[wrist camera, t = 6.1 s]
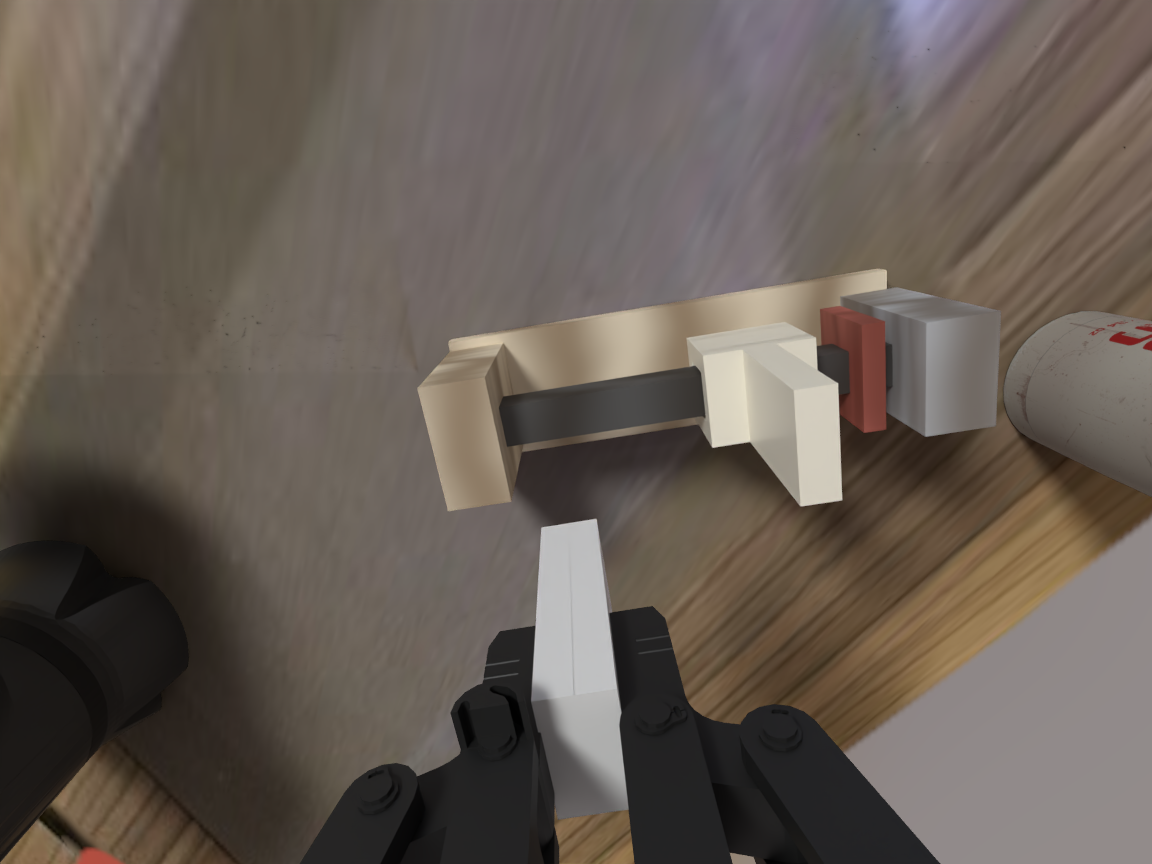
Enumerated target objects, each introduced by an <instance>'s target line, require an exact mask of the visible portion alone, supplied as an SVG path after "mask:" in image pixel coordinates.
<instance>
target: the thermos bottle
mask: <svg viewBox="0 0 1152 864" xmlns="http://www.w3.org/2000/svg"><path fill="white" fill-rule="evenodd" d="M1004 404H1005V408H1006V412H1007V414H1008V416H1009V418H1010V420H1011V422H1012V423H1013V425H1014V426H1015V427H1016V428H1017V429H1018V430H1019V431H1020V432H1021V433H1022V434H1024V435H1025V436H1027V437H1028V438H1030V439H1032V440H1034V441H1036V442H1038V443H1040V444H1042V445H1044V446H1046V447H1048V448H1050V449H1052V450H1054V451H1056V452H1058V453H1060V454H1062V455H1064V456H1066V457H1068V458H1070V459H1073V460H1075V461H1077V462H1079V463H1081V464H1083V465H1085V466H1087V467H1089V468H1091V469H1093V470H1095V471H1097V472H1099V473H1101V474H1103V475H1105V476H1107V477H1110V478H1112V479H1114V480H1116V481H1118V482H1120V483H1123V484H1125V485H1127V486H1129V487H1132V488H1134V489H1136V490H1138V491H1140V492H1142V493H1144V494H1146V495H1148V496H1150V497H1152V321H1148V320H1142V319H1137V318H1132V317H1126V316H1121V315H1115V314H1110V313H1104V312H1098V311H1085V312H1078V313H1073V314H1069V315H1065V316H1063V317H1061V318H1058V319H1056V320H1053V321H1051V322H1050V323H1048V324H1047V325H1045V326H1043V327H1042V328H1040V329H1039V330H1038V331H1036V332H1035V333H1034V334H1033V335H1032V336H1031V337H1029V338H1028V339H1027V341H1026V342H1025V343H1024V344H1023V345H1022V346H1021V348H1020V349H1019V350H1018V352H1017V353H1016V355H1015V357H1014V358H1013V360H1012V362H1011V364H1010V366H1009V369H1008V371H1007V374H1006V378H1005V383H1004Z"/></svg>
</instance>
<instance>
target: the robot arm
mask: <svg viewBox="0 0 1152 864" xmlns="http://www.w3.org/2000/svg"><path fill="white" fill-rule="evenodd" d="M188 658H189V655H188V643H187V638H186V634H185V631H184V628H183V625H182V623H181V621H180V619H179V616H178V615H177V613H176V611H175V609H174V608H173V606H172V605H171V603H170V602H169V600H168V599H167V598H166V596H165V595H164V594H163V593H162V592H161V591H160V589H159V588H158V587H157V586H156V585H155V584H154V583H153V582H151V581H149V580H146V579H141V578H133V577H125V578H116V577H113V576H111V575H109V574H108V573H107V572H106V570H105V568H104V566H103V565H102V563H101V562H100V560H99V559H98V558H97V556H96V555H95V554H94V553H93V552H92V551H91V550H90V549H89V548H88V547H87V546H85V545H81V544H76V543H70V542H63V541H34V542H27V543H22V544H18V545H15V546H12V547H9V548H6V549H4V550H2V551H0V862H1V861H2V860H3V859H4V857H5V856H6V855H7V854H8V853H9V852H10V850H11V849H12V848H13V847H14V846H15V845H16V843H17V842H18V841H19V840H20V839H21V838H22V837H23V835H24V834H25V833H26V832H27V831H28V830H29V828H30V827H31V826H32V825H33V824H34V823H35V821H36V820H37V819H38V818H39V817H40V816H41V814H42V813H43V812H44V811H45V810H46V809H47V808H48V806H49V805H50V804H51V803H52V802H53V801H54V799H55V798H56V797H57V796H58V795H59V794H60V792H61V791H62V790H63V789H64V788H65V787H66V785H67V784H68V783H69V782H70V781H71V780H72V779H73V777H74V776H75V775H76V774H77V773H78V772H79V770H80V769H81V768H82V767H83V766H84V764H85V763H86V762H87V761H88V760H89V759H90V758H91V757H92V755H93V754H94V753H95V752H96V751H97V750H98V749H99V748H100V747H101V746H102V745H104V744H106V743H107V742H109V741H111V740H112V739H114V738H115V737H117V736H119V735H120V734H122V733H124V732H125V731H127V730H128V729H130V728H132V727H133V726H135V725H137V724H138V723H140V722H141V721H143V720H145V719H146V718H148V717H150V716H151V715H153V714H154V713H156V712H158V711H159V710H160V709H161V694H160V692H161V691H163V690H164V689H165V688H166V687H167V686H168V685H169V684H170V683H172V682H173V681H174V680H175V679H176V678H177V677H178V676H179V675H180V674H181V673H182V672H183V671H184V670H185V669H186V668H187V667H188ZM451 716H452V720H453V723H454V727H455V731H456V734H457V738H458V741H459V745H460V748H461V752H460V754H459V755H458V756H457V757H455V758H454V759H453V760H451V761H450V762H448V763H446V764H444V765H443V766H441V767H439V768H436V769H434V770H432V771H429V772H427V773H424V774H422V775H420V776H416V773H415V772H414V771H413V770H412V769H411V768H410V767H409V766H406V765H402V764H398V763H394V764H386V765H381V766H379V767H376V768H374V769H371V770H369V771H367V772H366V773H364V774H363V775H362V776H360V777H359V778H358V779H356V780H355V781H354V782H353V783H352V784H351V786H350V787H349V788H348V789H347V790H346V791H345V793H344V794H343V796H342V797H341V799H340V801H339V802H338V804H337V805H336V807H335V809H334V810H333V812H332V813H331V815H330V817H329V818H328V820H327V821H326V823H325V825H324V826H323V828H322V829H321V831H320V833H319V834H318V836H317V837H316V839H315V840H314V842H313V844H312V845H311V847H310V848H309V850H308V852H307V853H306V855H305V856H304V858H303V860H302V861H301V863H300V864H559V844H558V840H557V835H556V831H555V827H554V803H555V808H556V812H557V816H558V819H565V818H572V817H579V816H586V815H593V814H600V813H606V812H613V811H620V810H627V809H629V817H630V826H631V835H632V844H633V853H634V862H635V864H732V860H731V856H730V853H736V854H742V855H747V856H752V857H754V859H755V862H756V864H940V863H939V862H938V861H937V860H936V858H935V857H934V856H933V855H932V854H931V853H930V852H929V850H928V849H927V848H926V847H925V846H924V845H923V843H922V842H921V841H920V840H919V839H918V838H917V837H916V835H915V834H914V833H913V832H912V831H911V830H910V829H909V827H908V826H907V825H906V824H905V823H904V822H903V821H902V819H901V818H900V817H899V816H898V815H897V814H896V813H895V811H894V810H893V809H892V808H891V807H890V806H889V805H888V803H887V802H886V801H885V800H884V799H883V798H882V797H881V796H880V794H879V793H878V792H877V791H876V790H875V788H874V787H873V786H872V785H871V784H870V783H869V782H868V781H867V779H866V778H865V777H864V776H863V775H862V774H861V773H860V771H859V770H858V769H857V768H856V767H855V766H854V764H853V763H852V762H851V761H850V760H849V759H848V758H847V756H846V755H845V754H844V753H843V752H842V751H841V750H840V748H839V747H838V746H837V745H836V744H835V743H834V742H833V740H832V739H831V738H830V737H829V736H828V735H827V734H826V732H825V731H824V730H823V729H822V728H821V727H820V726H819V724H818V723H817V722H816V721H815V720H814V719H812V718H811V717H810V716H809V715H808V714H806V713H805V712H804V711H801V710H798V709H796V708H793V707H791V706H785V705H775V704H773V705H768V706H762V707H759V708H757V709H755V710H753V711H752V712H750V713H748V714H747V715H746V717H745V718H744V719H743V721H742V722H741V725H739V724H730V723H723V722H718V721H713V720H711V719H709V718H706V717H704V716H702V715H701V714H699V713H698V712H696V711H695V710H694V709H693V708H692V707H691V705H690V704H689V703H688V701H687V699H686V696H685V693H684V689H683V685H682V681H681V677H680V674H679V670H678V666H677V662H676V658H675V655H674V651H673V647H672V643H671V639H670V636H669V632H668V628H667V624H666V620H665V618H664V617H663V616H662V615H661V614H660V613H659V612H658V611H657V610H656V609H655V608H654V607H653V606H651V607H644V608H638V609H631V610H625V611H618V612H612V607H611V601H610V595H609V589H608V583H607V577H606V571H605V565H604V560H603V554H602V548H601V542H600V536H599V530H598V524H597V519H592V520H585V521H579V522H573V523H567V524H560V525H554V526H548V527H542V528H541V544H540V561H539V578H538V595H537V612H536V626H532V627H525V628H519V629H512V630H506V631H500V632H499V633H498V635H497V636H496V638H495V639H494V640H493V642H492V643H491V645H490V646H489V648H488V654H487V660H486V667H485V672H484V680H483V684H480V685H477V686H475V687H474V688H472V689H470V690H468V691H467V692H465V693H464V694H463V695H462V696H461V697H460V698H459V699H458V700H457V701H456V702H455V704H454V706H453V709H452V711H451Z"/></svg>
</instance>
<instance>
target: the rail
mask: <svg viewBox="0 0 1152 864" xmlns="http://www.w3.org/2000/svg"><path fill="white" fill-rule="evenodd" d="M781 322H786V323H788V324H790V325H792V326H794V327H796V328H798V329H800V330H802V331H804V332H806V333H808V334H810V335H812V336H814V337H816V347H817V369H818V371H819V372H821V373H823V374H824V375H826V376H827V377H829V378H830V379H832V380H834V381H835V382H837V383H838V394H839V414H840V415H841V416H842V417H844V418H845V419H846V420H848V421H849V422H850V423H852V424H853V425H854V426H856V427H857V428H858V429H860V430H861V431H862V432H864V433H867V432H873V431H880V430H886V412H887V413H888V414H890V415H892V416H893V417H895V418H896V419H898V420H900V421H901V422H903V423H904V424H906V425H907V426H909V427H911V428H912V429H914V430H915V431H917V432H919V433H920V434H922V435H923V436H925V437H928V436H934V435H941V434H947V433H954V432H960V431H967V430H973V429H980V428H986V427H993V426H996V409H997V387H998V365H999V343H1000V322H1001V311H999V310H994V309H990V308H985V307H981V306H976V305H972V304H968V303H963V302H959V301H954V300H950V299H945V298H941V297H937V296H932V295H928V294H923V293H919V292H915V291H910V290H906V289H901V288H897V287H895V288H889V289H887V270H883V269H873V270H867V271H861V272H855V273H849V274H843V275H837V276H831V277H825V278H818V279H812V280H806V281H800V282H794V283H788V284H782V285H776V286H770V287H764V288H758V289H752V290H746V291H740V292H734V293H728V294H722V295H716V296H710V297H704V298H698V299H692V300H686V301H680V302H674V303H668V304H662V305H656V306H650V307H644V308H637V309H631V310H625V311H619V312H613V313H607V314H601V315H595V316H589V317H583V318H577V319H571V320H565V321H559V322H553V323H547V324H541V325H535V326H529V327H523V328H517V329H511V330H505V331H499V332H493V333H487V334H481V335H475V336H469V337H462V338H456V339H451V340H450V341H449V342H448V344H449V349H450V352H449V353H448V354H447V356H446V357H445V358H444V359H443V360H442V361H441V362H440V363H439V365H438V366H437V367H436V368H435V369H434V370H433V371H432V372H431V374H430V375H429V376H428V377H427V378H426V379H425V380H424V382H423V383H422V384H421V385H420V386H419V387H418V388H417V389H418V393H419V397H420V401H421V405H422V409H423V413H424V417H425V420H426V424H427V428H428V432H429V436H430V440H431V444H432V448H433V452H434V456H435V460H436V464H437V468H438V472H439V476H440V480H441V484H442V488H443V492H444V496H445V500H446V504H447V508H448V511H453V510H460V509H466V508H473V507H479V506H486V505H492V504H499V503H505V502H511V501H512V496H513V491H514V487H515V482H516V477H517V472H518V468H519V463H520V458H521V454H522V452H526V451H532V450H538V449H545V448H551V447H558V446H564V445H570V444H577V443H583V442H590V441H596V440H602V439H609V438H615V437H621V436H628V435H634V434H641V433H647V432H653V431H660V430H666V429H673V428H679V427H685V426H692V425H698V423H697V421H696V420H695V417H701V416H706V415H705V405H704V396H703V386H702V377H701V372H700V370H699V369H698V368H697V367H696V366H689V357H688V348H687V339H686V338H689V337H695V336H701V335H707V334H714V333H720V332H726V331H732V330H738V329H744V328H750V327H756V326H763V325H769V324H775V323H781Z"/></svg>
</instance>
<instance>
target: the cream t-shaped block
mask: <svg viewBox="0 0 1152 864" xmlns="http://www.w3.org/2000/svg"><path fill="white" fill-rule="evenodd" d="M686 339H687V348H688V357H689V366H696V367H697V368H698V369H699V370H700V372H701V377H702V386H703V396H704V405H705V415H706V416H701V417H695V420H696V421H697V423H698V425H699V426H700V428H701V429H702V431H703V433H704V434H705V436H706V438H707V439H708V441H709V443H710V444H711V446H712V448H714V447H721V446H727V445H734V444H740V443H746V442H750V443H751V444H752V445H753V446H754V448H755V449H756V450H757V451H758V453H759V454H760V455H761V457H762V458H763V459H764V460H765V462H766V463H767V464H768V466H769V467H770V468H771V469H772V471H773V472H774V473H775V475H776V476H777V477H778V478H779V480H780V481H781V482H782V483H783V485H784V486H785V487H786V489H787V490H788V491H789V492H790V494H791V495H792V496H793V498H794V499H795V500H796V501H797V503H798V504H799V505H800V507H801V506H808V505H814V504H821V503H828V502H835V501H841V500H842V479H841V451H840V423H839V394H838V383H837V382H835V381H834V380H832V379H830V378H829V377H827V376H826V375H824V374H823V373H821V372H819V371H818V369H817V347H816V337H814V336H812V335H810V334H808V333H806V332H804V331H802V330H800V329H798V328H796V327H794V326H792V325H790V324H788V323H786V322H781V323H775V324H769V325H763V326H756V327H750V328H744V329H738V330H732V331H726V332H720V333H714V334H707V335H701V336H695V337H689V338H686Z"/></svg>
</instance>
